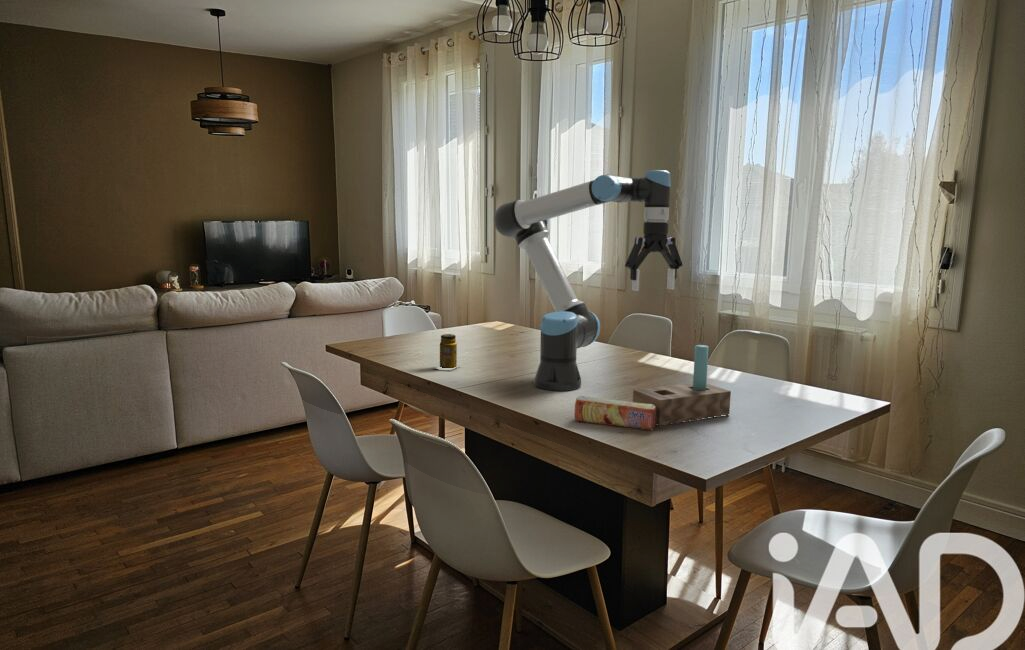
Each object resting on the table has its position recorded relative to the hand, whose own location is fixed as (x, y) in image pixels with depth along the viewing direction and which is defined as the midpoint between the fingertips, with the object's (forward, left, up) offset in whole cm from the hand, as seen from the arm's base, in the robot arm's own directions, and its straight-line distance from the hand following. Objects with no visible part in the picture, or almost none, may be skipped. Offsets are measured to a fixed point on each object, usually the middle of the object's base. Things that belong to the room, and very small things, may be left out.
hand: (653, 290), depth 214 cm
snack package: (-32, -28, -32) cm, 53 cm away
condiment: (-49, +52, -32) cm, 79 cm away
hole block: (-10, -28, -32) cm, 43 cm away
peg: (-4, -28, -31) cm, 42 cm away
